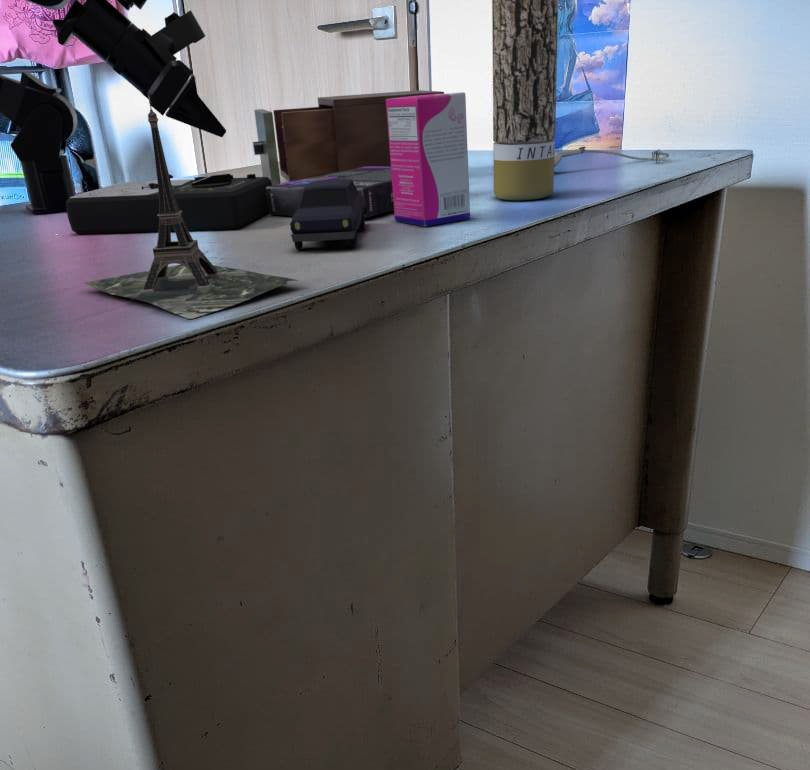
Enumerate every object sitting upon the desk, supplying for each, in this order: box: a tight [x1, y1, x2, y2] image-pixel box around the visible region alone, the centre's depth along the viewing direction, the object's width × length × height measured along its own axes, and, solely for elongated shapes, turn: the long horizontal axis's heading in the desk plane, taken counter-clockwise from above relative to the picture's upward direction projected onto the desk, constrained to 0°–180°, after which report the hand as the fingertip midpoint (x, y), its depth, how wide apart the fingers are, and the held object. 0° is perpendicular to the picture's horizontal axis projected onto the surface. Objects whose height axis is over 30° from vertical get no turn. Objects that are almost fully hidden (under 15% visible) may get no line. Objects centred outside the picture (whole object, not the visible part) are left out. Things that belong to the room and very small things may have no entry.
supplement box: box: [386, 91, 471, 228], centre depth 86 cm, size 6×6×12 cm
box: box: [266, 166, 394, 219], centre depth 100 cm, size 14×4×20 cm
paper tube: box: [491, 0, 559, 202], centre depth 93 cm, size 7×7×25 cm
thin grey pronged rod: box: [554, 146, 670, 168], centre depth 119 cm, size 5×3×20 cm
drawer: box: [252, 106, 338, 185], centre depth 116 cm, size 15×11×9 cm
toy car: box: [289, 179, 367, 251], centre depth 81 cm, size 6×15×5 cm, turn 178°
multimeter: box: [66, 173, 272, 235], centre depth 96 cm, size 13×19×5 cm
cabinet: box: [317, 89, 445, 172], centre depth 118 cm, size 15×13×11 cm
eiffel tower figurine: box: [84, 95, 299, 320], centre depth 63 cm, size 15×10×13 cm
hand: (224, 134), depth 114 cm, fingers closed
